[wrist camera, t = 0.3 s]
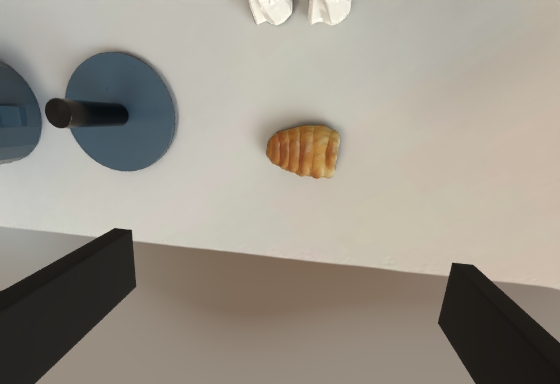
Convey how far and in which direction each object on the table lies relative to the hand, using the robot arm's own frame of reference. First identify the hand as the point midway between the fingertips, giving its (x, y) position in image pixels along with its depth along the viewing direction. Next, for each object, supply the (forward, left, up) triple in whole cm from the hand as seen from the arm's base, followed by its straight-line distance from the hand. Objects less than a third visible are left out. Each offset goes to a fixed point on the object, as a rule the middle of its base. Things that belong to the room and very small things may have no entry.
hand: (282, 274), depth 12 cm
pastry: (-2, 0, -28) cm, 28 cm away
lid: (-5, -26, -27) cm, 38 cm away
